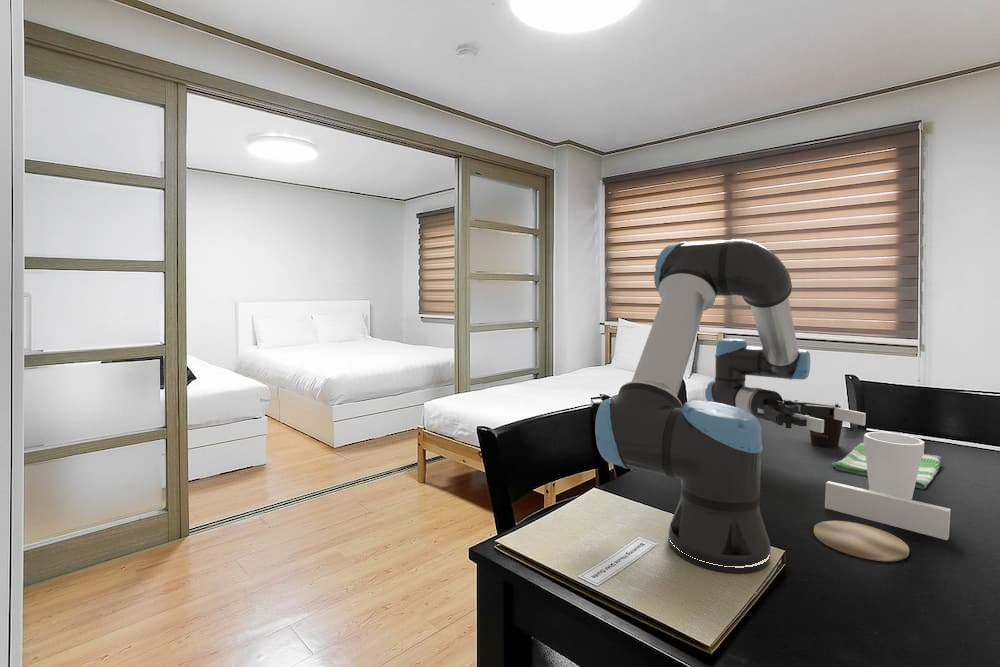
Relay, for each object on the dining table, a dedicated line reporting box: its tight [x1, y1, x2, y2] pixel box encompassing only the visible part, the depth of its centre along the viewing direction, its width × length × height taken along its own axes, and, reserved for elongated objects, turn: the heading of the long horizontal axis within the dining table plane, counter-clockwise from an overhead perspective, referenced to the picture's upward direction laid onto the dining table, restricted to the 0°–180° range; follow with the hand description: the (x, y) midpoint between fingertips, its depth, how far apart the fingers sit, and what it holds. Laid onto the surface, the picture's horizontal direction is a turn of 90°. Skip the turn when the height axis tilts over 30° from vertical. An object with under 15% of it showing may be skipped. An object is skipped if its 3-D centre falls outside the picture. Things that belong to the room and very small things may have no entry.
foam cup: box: [863, 431, 925, 500], centre depth 101 cm, size 10×9×13 cm
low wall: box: [824, 480, 952, 541], centre depth 92 cm, size 2×18×5 cm, turn 43°
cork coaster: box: [813, 520, 910, 562], centre depth 85 cm, size 13×13×1 cm
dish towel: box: [831, 442, 942, 490], centre depth 122 cm, size 18×23×3 cm
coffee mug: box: [798, 412, 844, 449], centre depth 142 cm, size 12×9×10 cm
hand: (844, 422), depth 109 cm, fingers open, 13 cm apart
